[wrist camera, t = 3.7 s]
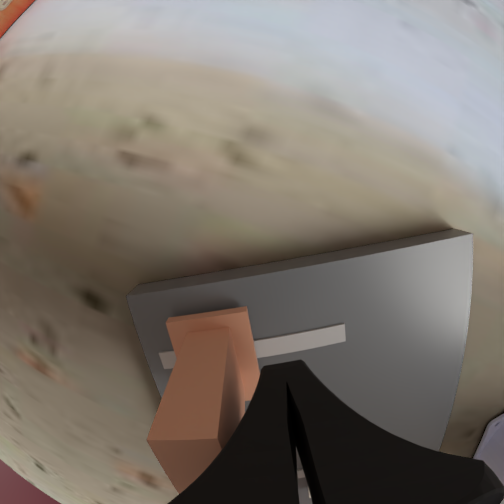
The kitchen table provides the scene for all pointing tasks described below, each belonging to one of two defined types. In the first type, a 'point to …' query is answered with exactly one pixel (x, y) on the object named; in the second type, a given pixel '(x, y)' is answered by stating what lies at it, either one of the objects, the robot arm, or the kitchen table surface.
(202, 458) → the terracotta paddle
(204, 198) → the kitchen table surface
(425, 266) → the switch panel
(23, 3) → the cracker box
